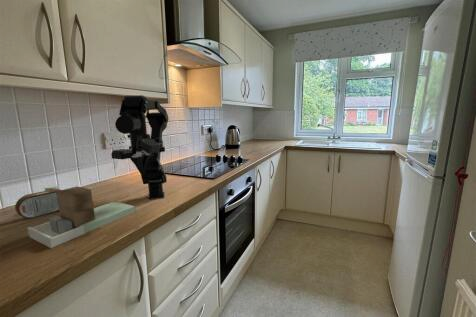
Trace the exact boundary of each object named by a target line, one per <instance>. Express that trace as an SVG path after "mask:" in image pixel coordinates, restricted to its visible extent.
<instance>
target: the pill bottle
mask: <svg viewBox="0 0 476 317" xmlns="http://www.w3.org/2000/svg"><path fill="white" fill-rule="evenodd" d="M52 189H59V186H58V185H57V184H52V185H46V186H45V187H44V191H47V190H52Z"/></svg>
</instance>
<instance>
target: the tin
mask: <svg viewBox="0 0 476 317" xmlns="http://www.w3.org/2000/svg"><path fill="white" fill-rule="evenodd" d="M61 190H62V189H60V188H58V189H52V190H47V191H45V190H43V191H37V192H33V193H27V194H24V195H23V196H21V197H20V198H18V200H16V203H15V205H14V208H15V212H16V213H17V214H18V215H19V216H20V217H22V218H24V219H34V218H38V217H42V216H46V215H50V214H54V213H58V212H60V211H59V206H58V200H57V194H56V192H57V191H61Z"/></svg>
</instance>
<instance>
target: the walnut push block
mask: <svg viewBox="0 0 476 317" xmlns="http://www.w3.org/2000/svg"><path fill="white" fill-rule="evenodd" d="M60 190H61V191H57V192H56V194H57V200H58V206H59V211H58V212H59V217H61V218H63V219H66V220H68V221H71V222H72V226H73V227H77V226H80V225H83V224H85V223H88V222H90V221H93V220H95V214H94V208H95V206H94V202H93V196H92V189H91V188H85V187H81V186H72V187H69V188H65V189H60Z"/></svg>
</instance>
